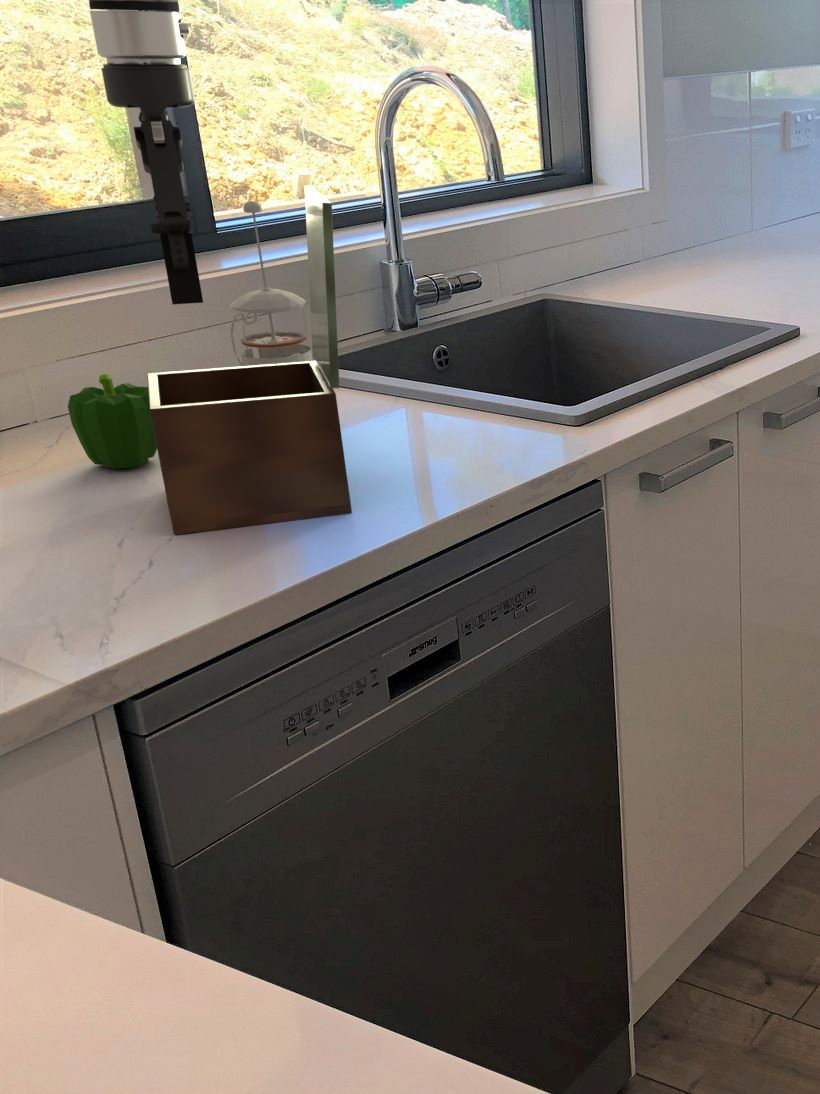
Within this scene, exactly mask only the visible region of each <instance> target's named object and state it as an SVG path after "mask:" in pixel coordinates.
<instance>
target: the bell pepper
mask: <svg viewBox="0 0 820 1094" xmlns="http://www.w3.org/2000/svg"><path fill="white" fill-rule="evenodd" d="M98 381H99V383H100V384H101V386H102V388H100V387H95V386H89V387H87V386H86V387H83V388H82V389H81V391H79V392H78V393H75V394H72V395H71V394H70V396H69V399H68V404H67V410H68V414H69V418H70V422H71V426H72V428H73V430H74V432H75V434H76V436H77V439H78V441H79V443H80V446H81V447H82V449H83V450H84V452H85V454H86V456H87V458H88V459H89V460H90V461H91V462H92V463H93V464H94V465H98V466H104V467H107V468H111V469H127V468H128V469H129V468H134V467H140V466H142V465H143V464H145V463H147V462H148V461H149V459H151V458H153V457H155V455H156V453H157V452H158V450H157V445H156V440H155V435H154V429H153V424H152V419H151V414H150V406H149V392H148V386H136V385H134V384H132V383H128V382H126V383H120V384H119V385H116V386H114V384H113V379H112V376H111V375H110V374H109V373H102V374H100V375H99V377H98Z"/></svg>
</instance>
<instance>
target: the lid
mask: <svg viewBox="0 0 820 1094" xmlns="http://www.w3.org/2000/svg"><path fill="white" fill-rule="evenodd" d="M304 205H305V206H304V207H305V226H306V227H305V228H306V243H307V244H306V245H307V247H306V249H307V264H308V267H307V268H308V284H309V285H308V286H309V287H308V288H309V307H310V327H311V328H310V329H311V347H312V348H311V351H312V358H313V359H314V361H316V362H317V364H318V366H319V368H320V369H321V371H322V373H323V375H324V377H325V378H326V380H327V382H328V384H329V386H330V388H333V389H340V368H339V346H338V343H339V342H338V323H337V322H338V321H337V320H338V319H337V297H336V276H335V275H336V274H335V271H336V270H335V253H334V252H335V247H334V227H333V226H334V225H333V223H334V222H333V206H332V205H333V204H332V202H331V201H329V199H327V198H326V196H324V195H323V194H322V193H321V192H320V190H318V189H316V187H315V186H313V185H307V184H305V185H304Z"/></svg>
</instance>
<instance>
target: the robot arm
mask: <svg viewBox="0 0 820 1094" xmlns="http://www.w3.org/2000/svg"><path fill="white" fill-rule="evenodd" d="M88 6H89V14H90V19H91V24H92V30H93V35H94V40H95V45H96V51H97V54H98V55H99V57H101V58H105V59H106V63H103V66H102V67H101V69H100V70H101V75H102V79H103V84H104V90H105V96H106V101H107V103H108V104H109V105H110V106H112V107H116V108H124V109H125V108H128V109H131V108H132V109H133V108H137V109H138V108H139V111H140V112H139V114H138V121H139V122H140V126H133V131H134V137H135V143H136V147H137V149H139V151H140V154H141V159H142V166H143V170H144V172H146V174H148V175H150V179H151V183H152V190H153V197H152V199H153V202H154V203H155V204H154V208H155V211H156V212H157V215H156V220H157V223H150V227H151V233H152V235H159V238H160V244H161V249H162V255H163V261H164V265H165V271H166V276H167V282H168V287H169V293H170V298H171V304H172V306H173V305H187V304H203V303H204V299H203V294H202V287H201V281H200V276H199V269H198V263H197V257H196V252H195V245H194V241H193V235H192V234H193V233H192V231H191V229H192V228H191V219H190V218H189V216H188V214H192V208H191V202H190V201H188V202H187V201H186V200H185V195H184V189H183V183H182V178H181V173H182V172H184V161H183V157H182V150H181V149H182V148H183V141H182V135H181V130H180V127H179V126H178V125H174V124H173V123H172V121H171V120H170V117H169V115H168V111H167V108H186V107H187V108H188V107H191V106H193V105H194V104H195V99H196V98H195V94H194V93H195V92H194V87H193V81H192V76H191V70H190V69H191V68H189V67H188V65H187V64H182V63H181V59H183V58H185V57H186V56H187V50H186V49H187V48H186V44H185V39H184V38H183V37H182V36H181V35H189V34H191V27H190V25H189V24H188V23H185V22H179V20H181V15H180V4H179V0H88Z"/></svg>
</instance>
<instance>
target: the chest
mask: <svg viewBox="0 0 820 1094" xmlns="http://www.w3.org/2000/svg"><path fill="white" fill-rule="evenodd" d="M146 376H147V387H148V392H149V406H150V414H151V419H152V424H153V429H154V435H155V440H156V445H157V455H158V460H159V465H160V470H161V475H162V480H163V485H164V486H163V487H164V491H165V496H166V501H167V502H166V503H167V507H168V511H169V517H170V522H171V523H170V524H171V528H172V533H173V535H175V536H176V535H184V534H194V533H202V532H210V531H217V530H218V531H219V530H226V529H227V530H228V529H235V528H243V527H249V526H250V527H251V526H259V525H260V526H261V525H266V524H267V525H268V524H275V523H284V522H292V521H301V520H309V519H319V518H327V517H333V516H342V515H343V516H344V515H350V514H353V511H352V510H353V509H352V505H351V504H352V503H351V495H350V487H349V480H348V473H347V466H346V459H345V450H344V445H343V444H344V443H343V436H342V429H341V421H340V415H339V414H340V413H339V407H338V399H337V393H336V392H335V390H334V388H330V386H329V384H328V382H327V380H326V378H325V377H324V375H323V373H322V371H321V369H320V368H319V366H318V364H317V362H316V360H313V361H304V362H291V363H278V364H265V365H252V366H241V365H240V366H228V367H214V368H213V367H212V368H203V369H202V368H201V369H190V370H189V369H187V370H176V371H163V372H162V371H161V372H149V373H146Z"/></svg>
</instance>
